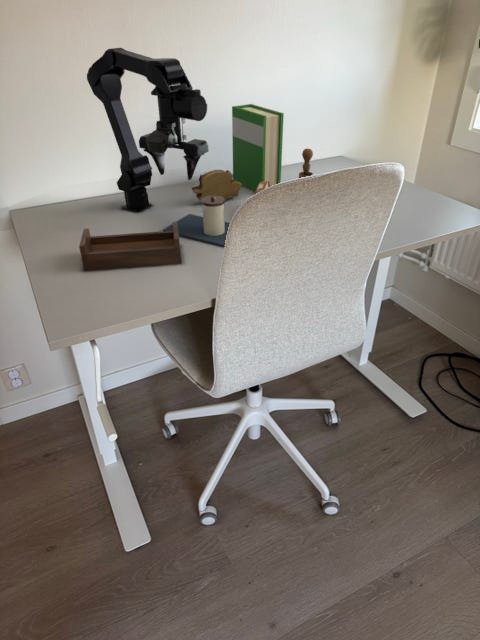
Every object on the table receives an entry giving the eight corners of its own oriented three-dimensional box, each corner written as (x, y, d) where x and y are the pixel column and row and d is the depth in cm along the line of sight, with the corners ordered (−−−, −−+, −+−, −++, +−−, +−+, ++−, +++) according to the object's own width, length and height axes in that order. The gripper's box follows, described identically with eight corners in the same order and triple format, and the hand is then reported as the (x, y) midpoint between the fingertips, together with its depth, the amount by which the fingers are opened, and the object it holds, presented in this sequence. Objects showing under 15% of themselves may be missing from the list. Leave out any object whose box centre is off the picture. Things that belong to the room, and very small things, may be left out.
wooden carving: (236, 194, 153) (235, 163, 147) (243, 198, 150) (243, 167, 144) (190, 203, 146) (188, 171, 140) (196, 208, 143) (194, 176, 137)
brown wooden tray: (89, 252, 119) (83, 228, 115) (179, 245, 122) (177, 222, 118) (84, 271, 111) (78, 246, 107) (181, 263, 114) (179, 238, 110)
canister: (205, 237, 125) (203, 201, 119) (201, 228, 130) (199, 193, 124) (227, 234, 126) (226, 199, 120) (222, 225, 131) (221, 191, 125)
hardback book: (280, 190, 155) (283, 113, 142) (261, 195, 152) (263, 116, 138) (250, 176, 168) (251, 103, 154) (233, 180, 164) (232, 106, 150)
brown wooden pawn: (291, 206, 144) (294, 146, 133) (311, 205, 144) (316, 145, 134) (294, 214, 138) (298, 152, 128) (316, 213, 139) (322, 151, 128)
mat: (162, 232, 129) (162, 230, 129) (189, 215, 138) (189, 213, 138) (225, 247, 121) (225, 245, 121) (248, 229, 130) (248, 227, 130)
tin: (263, 223, 133) (263, 194, 128) (252, 222, 134) (252, 194, 129) (270, 204, 145) (271, 177, 141) (260, 203, 146) (261, 176, 141)
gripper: (120, 118, 116) (129, 180, 125) (182, 126, 109) (187, 191, 118) (148, 110, 124) (155, 169, 133) (208, 117, 117) (210, 178, 126)
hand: (175, 177), depth 127 cm, fingers open, 9 cm apart
